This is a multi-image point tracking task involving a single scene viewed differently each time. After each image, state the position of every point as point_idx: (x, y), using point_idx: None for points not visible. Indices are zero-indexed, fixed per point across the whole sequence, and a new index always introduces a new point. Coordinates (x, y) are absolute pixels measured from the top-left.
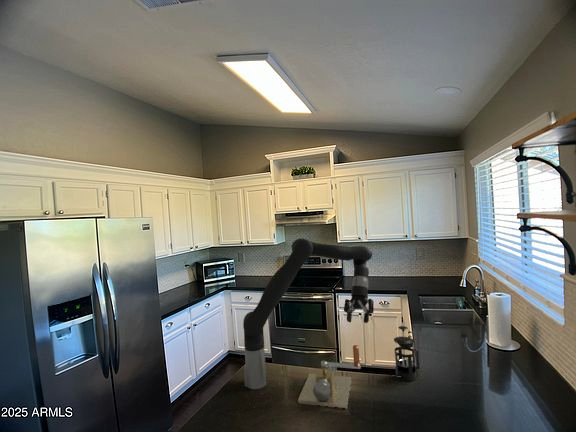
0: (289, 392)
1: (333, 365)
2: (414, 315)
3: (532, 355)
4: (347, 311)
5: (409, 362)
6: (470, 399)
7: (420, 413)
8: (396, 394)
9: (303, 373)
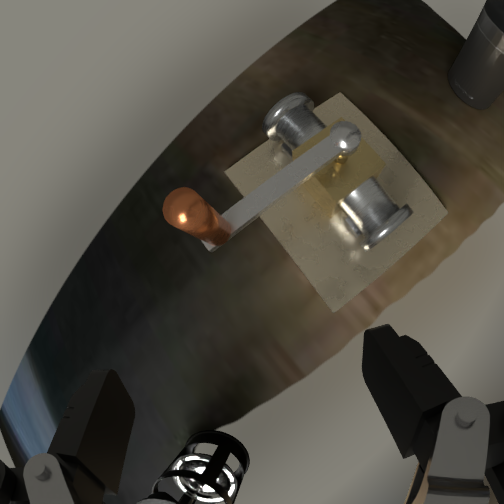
0: (399, 112)
1: (302, 155)
2: None
3: None
4: (472, 411)
5: (167, 468)
6: None
7: (95, 310)
8: (173, 348)
9: (468, 214)
